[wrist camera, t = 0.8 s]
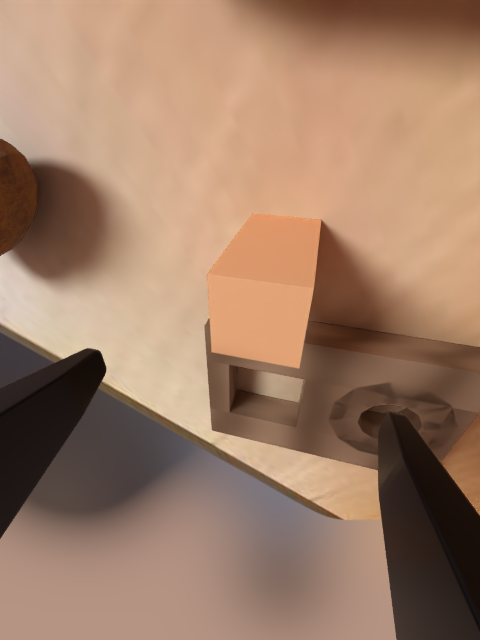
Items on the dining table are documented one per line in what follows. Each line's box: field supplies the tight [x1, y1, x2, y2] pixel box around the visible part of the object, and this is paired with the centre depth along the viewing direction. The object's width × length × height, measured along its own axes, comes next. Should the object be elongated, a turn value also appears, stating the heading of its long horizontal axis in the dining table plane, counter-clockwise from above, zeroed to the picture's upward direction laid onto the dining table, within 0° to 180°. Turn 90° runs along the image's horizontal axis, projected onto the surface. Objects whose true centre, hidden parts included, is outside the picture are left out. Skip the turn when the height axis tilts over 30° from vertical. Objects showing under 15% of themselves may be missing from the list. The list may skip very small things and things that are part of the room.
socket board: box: [205, 318, 480, 470], centre depth 23 cm, size 18×12×2 cm, turn 89°
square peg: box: [207, 214, 321, 368], centre depth 15 cm, size 4×4×8 cm
